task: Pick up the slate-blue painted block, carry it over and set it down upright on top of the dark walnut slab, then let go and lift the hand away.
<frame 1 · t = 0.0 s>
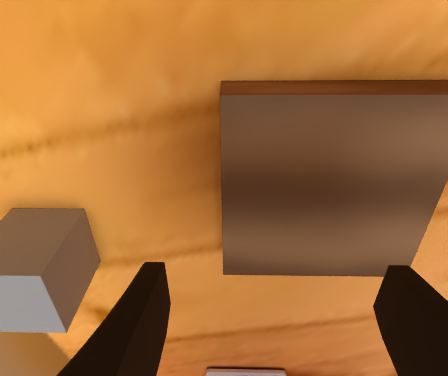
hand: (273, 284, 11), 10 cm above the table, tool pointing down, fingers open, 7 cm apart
walnut slab: (317, 174, 20), on the table
slate block: (59, 235, 23), on the table
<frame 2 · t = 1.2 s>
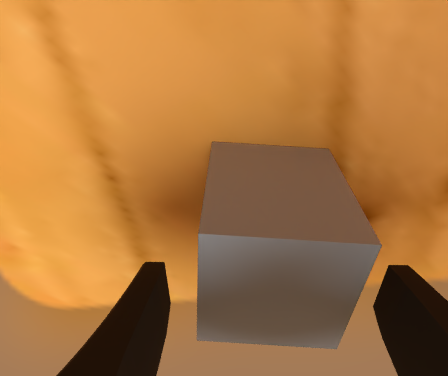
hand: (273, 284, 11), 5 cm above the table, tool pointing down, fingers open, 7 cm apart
slate block: (263, 193, 15), on the table
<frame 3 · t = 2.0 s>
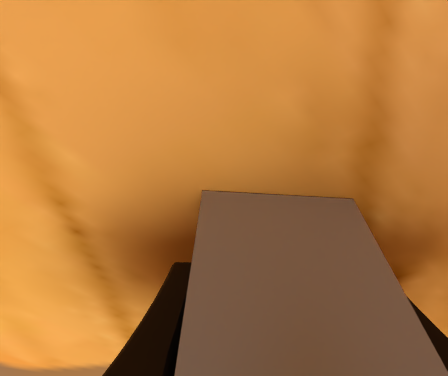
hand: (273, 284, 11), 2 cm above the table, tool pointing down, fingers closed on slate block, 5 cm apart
slate block: (268, 250, 12), on the table, touching gripper
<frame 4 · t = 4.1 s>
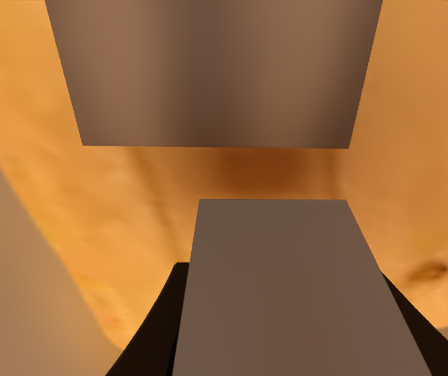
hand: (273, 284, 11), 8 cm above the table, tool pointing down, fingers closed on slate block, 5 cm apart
slate block: (267, 251, 12), point 7 cm above the table, touching gripper
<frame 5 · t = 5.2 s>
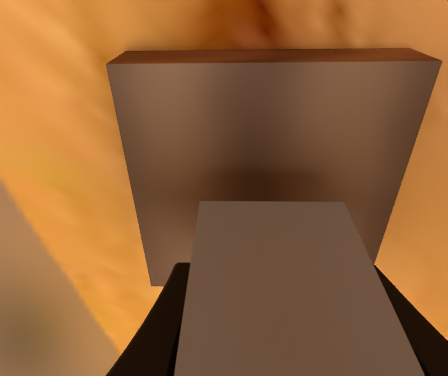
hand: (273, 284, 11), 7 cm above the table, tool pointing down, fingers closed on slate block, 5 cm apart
walnut slab: (258, 167, 17), on the table
slate block: (266, 252, 13), point 5 cm above the table, touching gripper
when the fingers open (6 cm above the table, at t = 6.0 s): slate block drops 1 cm, resting on walnut slab.
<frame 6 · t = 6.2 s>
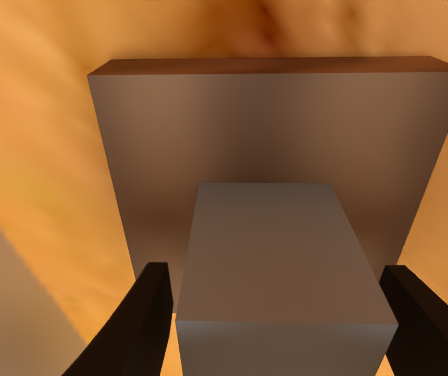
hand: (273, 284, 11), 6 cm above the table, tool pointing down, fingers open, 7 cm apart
walnut slab: (260, 184, 16), on the table, touching slate block
slate block: (260, 232, 14), point 2 cm above the table, touching walnut slab
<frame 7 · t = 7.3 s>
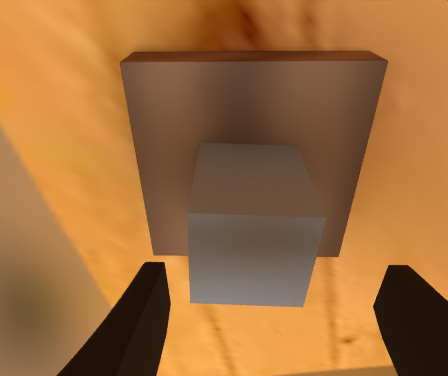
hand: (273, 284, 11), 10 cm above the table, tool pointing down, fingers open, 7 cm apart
walnut slab: (246, 152, 20), on the table, touching slate block
slate block: (245, 185, 18), point 2 cm above the table, touching walnut slab
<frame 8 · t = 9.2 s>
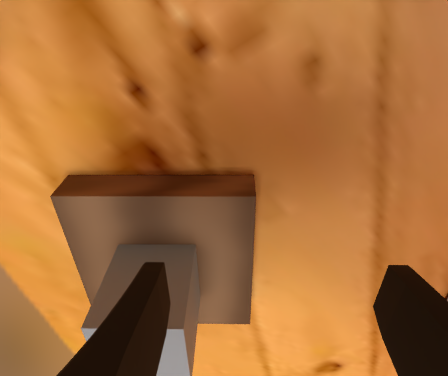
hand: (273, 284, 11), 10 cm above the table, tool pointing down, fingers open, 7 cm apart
walnut slab: (171, 239, 24), on the table
slate block: (161, 272, 22), point 2 cm above the table
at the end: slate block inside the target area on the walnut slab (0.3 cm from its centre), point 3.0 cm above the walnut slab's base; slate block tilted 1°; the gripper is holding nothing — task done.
